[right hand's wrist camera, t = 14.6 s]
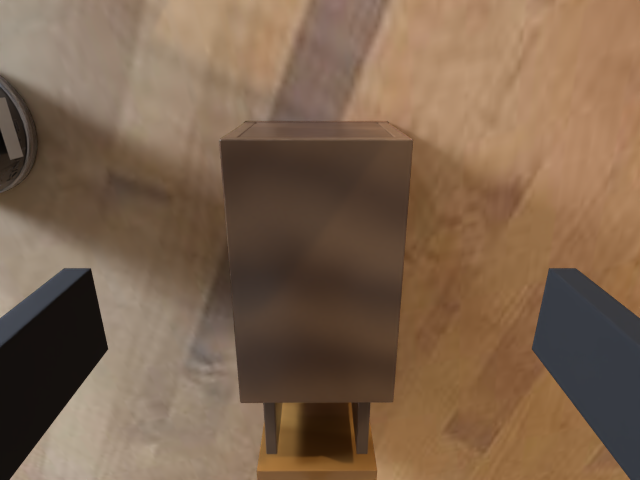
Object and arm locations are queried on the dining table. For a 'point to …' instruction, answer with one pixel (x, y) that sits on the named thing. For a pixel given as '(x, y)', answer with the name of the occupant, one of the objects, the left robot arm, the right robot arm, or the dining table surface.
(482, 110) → the dining table surface
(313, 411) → the drawer
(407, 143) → the cabinet
